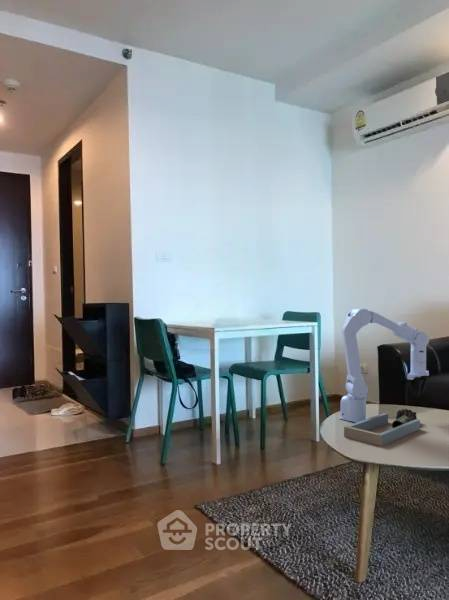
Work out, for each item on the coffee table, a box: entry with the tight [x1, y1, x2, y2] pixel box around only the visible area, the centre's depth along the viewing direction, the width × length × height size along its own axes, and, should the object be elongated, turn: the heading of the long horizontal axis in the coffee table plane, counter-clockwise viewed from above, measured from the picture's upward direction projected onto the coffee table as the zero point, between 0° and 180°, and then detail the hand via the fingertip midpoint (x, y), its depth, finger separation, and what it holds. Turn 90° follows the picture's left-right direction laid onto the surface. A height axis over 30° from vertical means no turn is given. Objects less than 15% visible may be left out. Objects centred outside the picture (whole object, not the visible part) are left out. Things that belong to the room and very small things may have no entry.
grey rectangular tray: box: [343, 412, 421, 447], centre depth 169 cm, size 14×28×4 cm, turn 133°
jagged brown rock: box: [391, 408, 418, 429], centre depth 177 cm, size 18×7×6 cm, turn 142°
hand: (418, 395), depth 187 cm, fingers open, 3 cm apart
